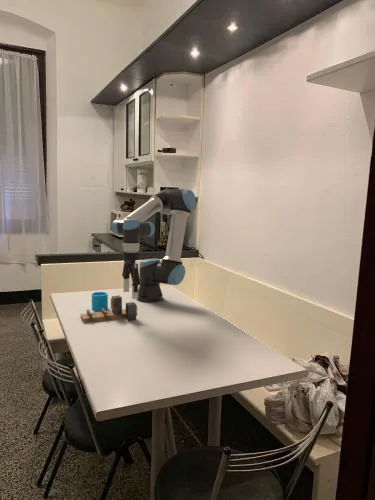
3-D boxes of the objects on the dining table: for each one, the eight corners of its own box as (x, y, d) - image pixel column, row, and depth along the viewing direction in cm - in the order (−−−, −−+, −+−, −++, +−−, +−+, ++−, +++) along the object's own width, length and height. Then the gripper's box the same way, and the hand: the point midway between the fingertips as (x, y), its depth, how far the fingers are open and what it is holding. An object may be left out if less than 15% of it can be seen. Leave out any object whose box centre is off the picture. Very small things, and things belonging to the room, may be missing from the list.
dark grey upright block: (134, 317, 193) (134, 301, 191) (137, 320, 189) (137, 304, 188) (125, 318, 191) (125, 302, 189) (128, 321, 187) (128, 305, 186)
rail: (128, 312, 200) (128, 293, 199) (132, 316, 194) (132, 297, 192) (80, 318, 190) (80, 298, 188) (83, 322, 183) (83, 302, 182)
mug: (109, 310, 203) (109, 295, 202) (93, 312, 200) (93, 296, 198) (103, 304, 214) (103, 289, 213) (88, 305, 210) (88, 291, 209)
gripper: (116, 248, 194) (115, 289, 197) (131, 255, 172) (130, 302, 175) (130, 247, 197) (130, 288, 200) (147, 255, 175) (146, 301, 178)
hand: (130, 295), depth 188 cm, fingers open, 13 cm apart
